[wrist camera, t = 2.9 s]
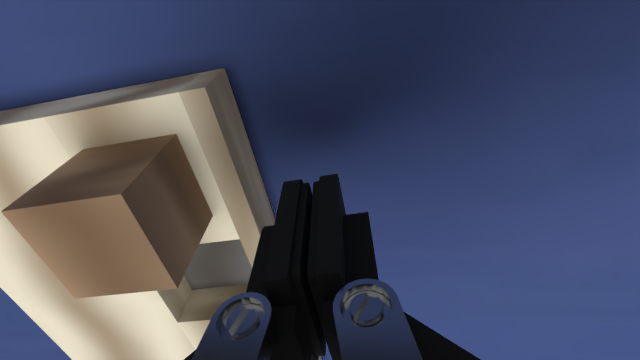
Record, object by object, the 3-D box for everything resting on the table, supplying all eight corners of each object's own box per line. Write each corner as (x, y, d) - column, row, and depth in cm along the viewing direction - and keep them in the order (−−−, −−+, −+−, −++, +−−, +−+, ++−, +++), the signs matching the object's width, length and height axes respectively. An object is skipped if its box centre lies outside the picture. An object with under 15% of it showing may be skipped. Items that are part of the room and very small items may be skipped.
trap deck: (224, 67, 14) (176, 114, 10) (331, 386, 27) (329, 464, 23) (-76, 125, 17) (-217, 183, 12) (156, 395, 30) (125, 468, 25)
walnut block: (176, 133, 13) (120, 194, 10) (212, 215, 15) (177, 288, 12) (83, 149, 14) (0, 211, 11) (130, 226, 16) (75, 298, 13)
